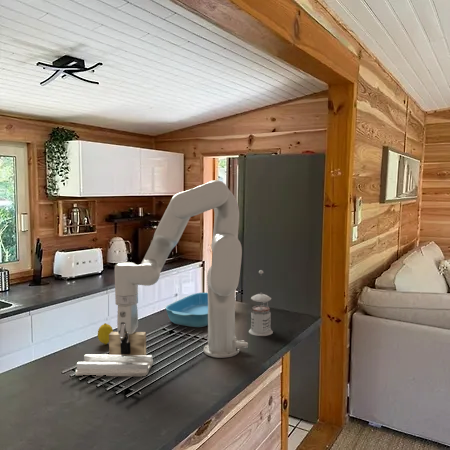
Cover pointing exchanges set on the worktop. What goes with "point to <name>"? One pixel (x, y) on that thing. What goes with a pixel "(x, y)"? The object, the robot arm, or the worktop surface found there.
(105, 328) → the lemon
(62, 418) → the worktop surface
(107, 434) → the worktop surface
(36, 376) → the worktop surface
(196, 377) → the worktop surface
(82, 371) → the bottom track
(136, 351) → the tan wooden block
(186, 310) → the casserole dish
